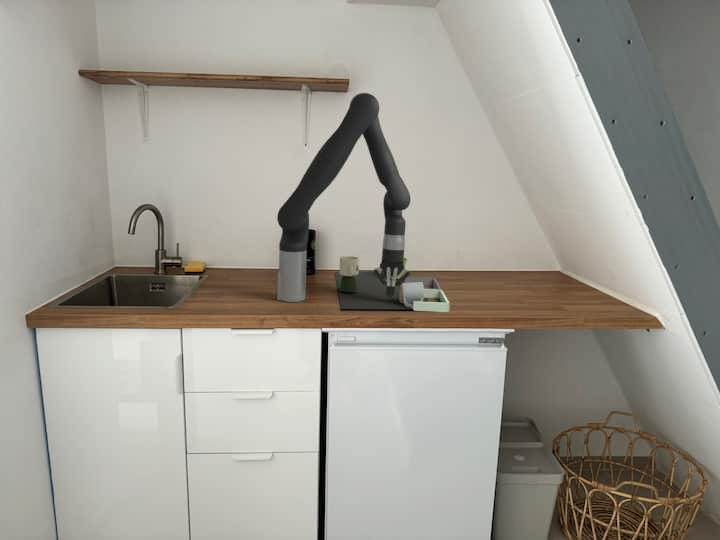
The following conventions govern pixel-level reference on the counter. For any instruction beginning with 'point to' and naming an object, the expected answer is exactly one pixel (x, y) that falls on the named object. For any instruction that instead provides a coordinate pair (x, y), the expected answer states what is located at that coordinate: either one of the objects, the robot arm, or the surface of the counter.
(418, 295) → the ceramic mug
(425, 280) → the corral charcoal
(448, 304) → the corral green
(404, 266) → the plant pot
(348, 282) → the character mug
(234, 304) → the counter surface
